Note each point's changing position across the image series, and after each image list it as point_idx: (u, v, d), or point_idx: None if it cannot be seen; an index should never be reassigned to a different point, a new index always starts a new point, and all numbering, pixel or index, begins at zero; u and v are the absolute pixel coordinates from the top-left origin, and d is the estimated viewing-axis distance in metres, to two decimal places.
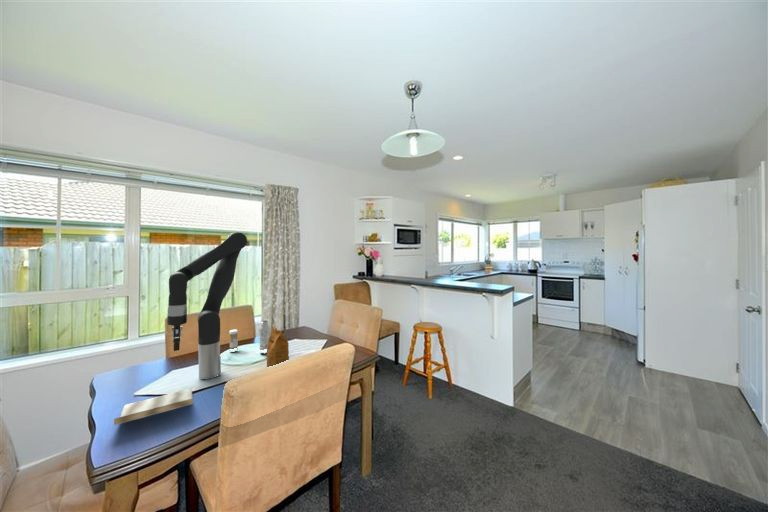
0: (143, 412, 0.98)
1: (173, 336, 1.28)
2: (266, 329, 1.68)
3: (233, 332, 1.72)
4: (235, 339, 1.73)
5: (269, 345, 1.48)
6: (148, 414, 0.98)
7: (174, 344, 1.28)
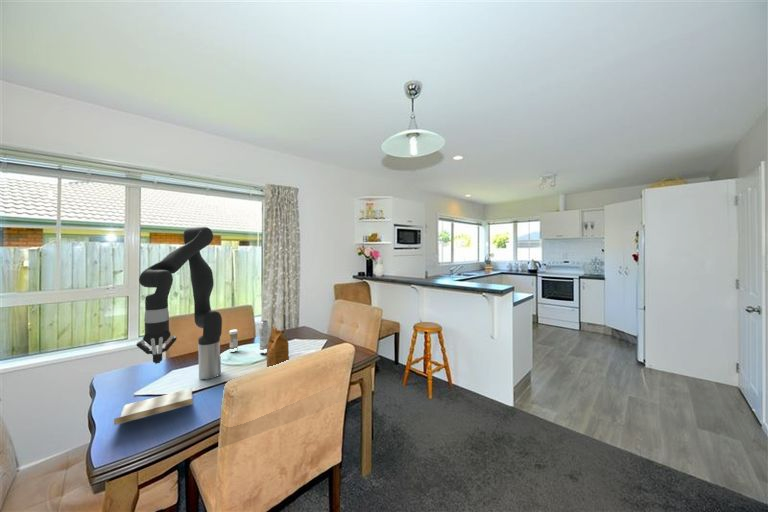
0: (143, 412, 0.98)
1: (162, 346, 1.11)
2: (266, 329, 1.68)
3: (233, 332, 1.72)
4: (235, 339, 1.73)
5: (269, 345, 1.48)
6: (148, 414, 0.98)
7: (159, 355, 1.11)
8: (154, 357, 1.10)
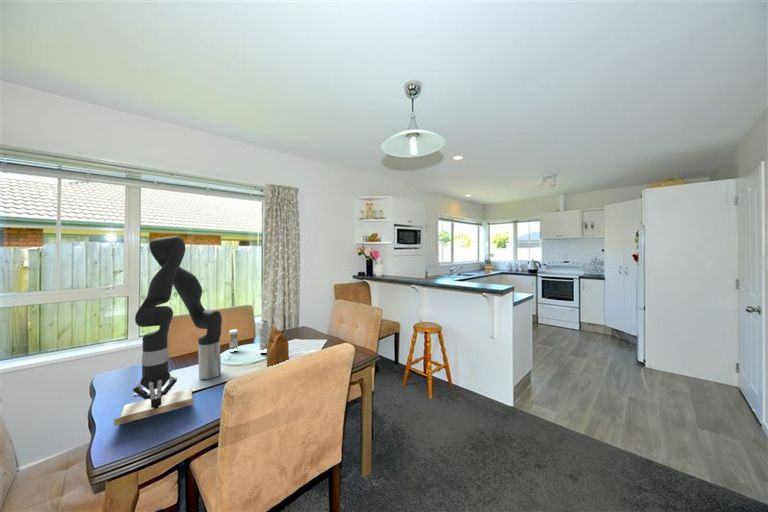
0: (143, 413, 0.98)
1: (161, 389, 1.02)
2: (266, 329, 1.68)
3: (233, 332, 1.72)
4: (235, 339, 1.73)
5: (269, 345, 1.48)
6: (148, 415, 0.98)
7: (158, 399, 1.02)
8: (152, 402, 1.01)
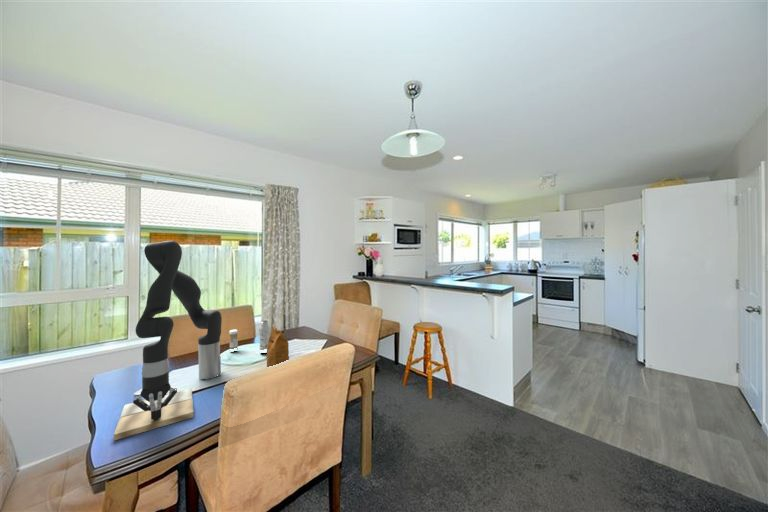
0: (143, 427, 0.97)
1: (161, 401, 1.01)
2: (266, 329, 1.68)
3: (233, 332, 1.72)
4: (235, 339, 1.73)
5: (269, 345, 1.48)
6: (148, 429, 0.98)
7: (158, 411, 1.01)
8: (152, 414, 1.00)
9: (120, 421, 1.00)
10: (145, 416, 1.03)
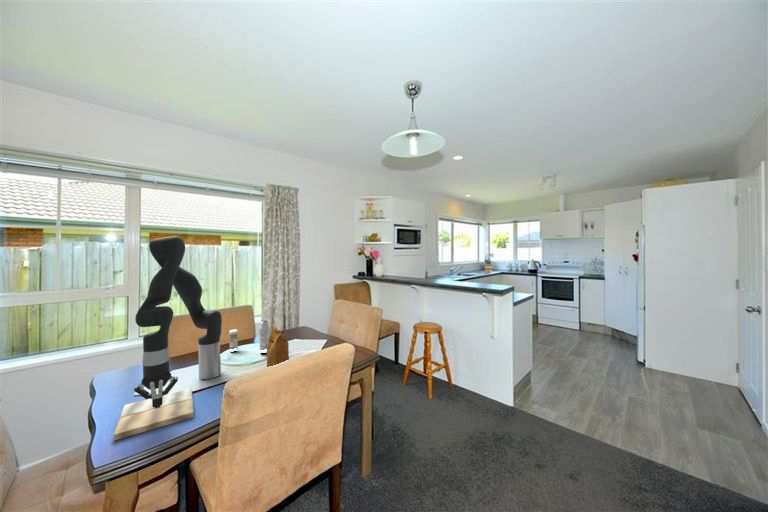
0: (143, 427, 0.97)
1: (162, 389, 1.02)
2: (266, 329, 1.68)
3: (233, 332, 1.72)
4: (235, 339, 1.73)
5: (269, 345, 1.48)
6: (148, 429, 0.98)
7: (159, 399, 1.02)
8: (154, 401, 1.01)
9: (120, 421, 1.00)
10: (145, 416, 1.03)
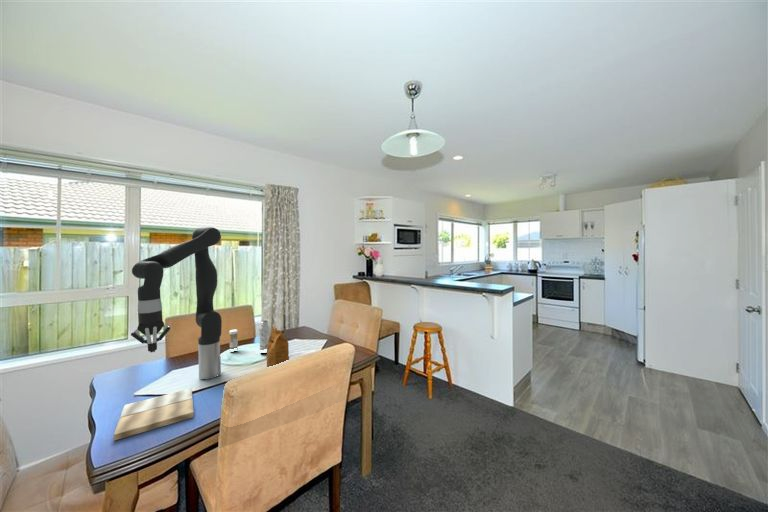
0: (143, 427, 0.97)
1: (156, 335, 1.14)
2: (266, 329, 1.68)
3: (233, 332, 1.72)
4: (235, 339, 1.73)
5: (269, 345, 1.48)
6: (148, 429, 0.98)
7: (154, 344, 1.14)
8: (149, 346, 1.13)
9: (120, 421, 1.00)
10: (145, 416, 1.03)
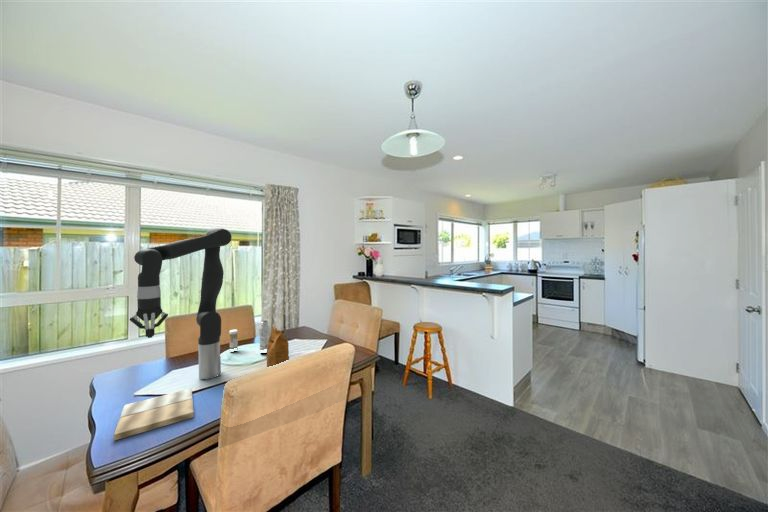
0: (143, 427, 0.97)
1: (154, 321, 1.17)
2: (266, 329, 1.68)
3: (233, 332, 1.72)
4: (235, 339, 1.73)
5: (269, 345, 1.48)
6: (148, 429, 0.98)
7: (152, 330, 1.17)
8: (147, 331, 1.16)
9: (120, 421, 1.00)
10: (145, 416, 1.03)
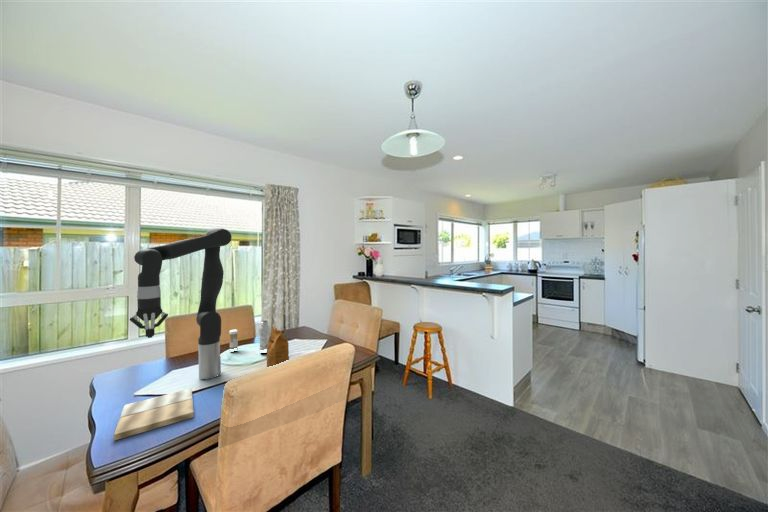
0: (143, 427, 0.97)
1: (154, 321, 1.17)
2: (266, 329, 1.68)
3: (233, 332, 1.72)
4: (235, 339, 1.73)
5: (269, 345, 1.48)
6: (148, 429, 0.98)
7: (152, 330, 1.17)
8: (147, 331, 1.16)
9: (120, 421, 1.00)
10: (145, 416, 1.03)
